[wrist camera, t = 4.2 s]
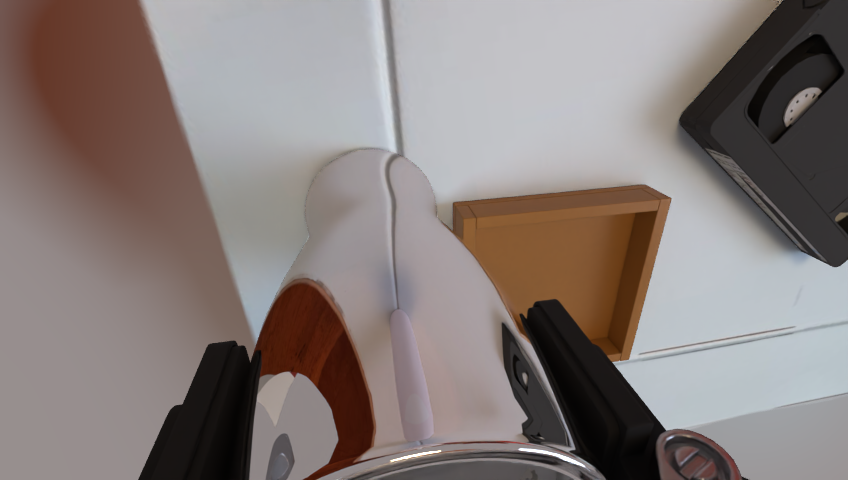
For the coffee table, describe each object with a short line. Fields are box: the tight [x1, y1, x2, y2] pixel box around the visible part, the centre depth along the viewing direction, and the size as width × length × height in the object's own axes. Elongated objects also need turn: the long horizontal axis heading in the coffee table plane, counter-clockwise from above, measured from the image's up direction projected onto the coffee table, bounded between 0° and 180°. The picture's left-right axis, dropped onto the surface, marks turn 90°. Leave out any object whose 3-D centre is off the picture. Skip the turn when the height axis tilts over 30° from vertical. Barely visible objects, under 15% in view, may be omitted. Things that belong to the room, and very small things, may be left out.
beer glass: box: [227, 149, 609, 480], centre depth 13 cm, size 7×7×15 cm
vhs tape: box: [680, 0, 848, 267], centre depth 21 cm, size 14×8×2 cm, turn 53°
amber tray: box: [453, 185, 671, 362], centre depth 22 cm, size 10×10×2 cm
